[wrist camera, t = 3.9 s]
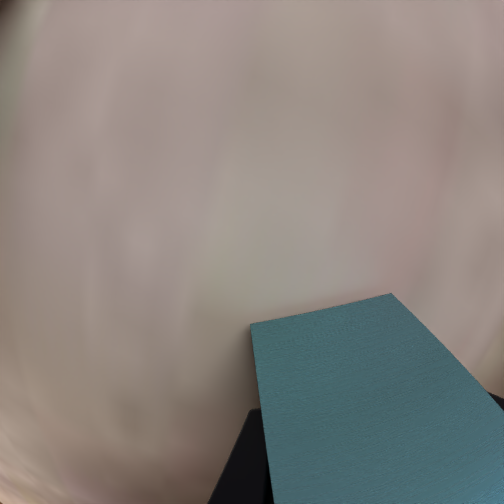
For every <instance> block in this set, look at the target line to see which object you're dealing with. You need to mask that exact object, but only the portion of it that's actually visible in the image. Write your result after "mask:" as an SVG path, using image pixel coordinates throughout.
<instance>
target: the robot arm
mask: <svg viewBox="0 0 504 504" xmlns="http://www.w3.org/2000/svg"><path fill="white" fill-rule="evenodd" d="M486 392H487V391H486ZM487 393H488V394H489V395H490V396H491V397H492V398H493V399H494V401H495V402H496V403H497V404H498V405H499V406H500V408H501V409H502V410H503V411H504V399H503V398H501V397H499V396H496V395H494V394H492V393H489V392H487ZM207 504H274V497H273V490H272V483H271V476H270V469H269V462H268V455H267V448H266V441H265V433H264V426H263V419H262V411H261V408H258V409H252V410H250V411H249V413H248V415H247V418H246V420H245V422H244V425H243V427H242V429H241V432H240V434H239V436H238V438H237V441H236V443H235V445H234V447H233V450H232V452H231V454H230V456H229V459H228V461H227V463H226V465H225V467H224V469H223V472H222V474H221V476H220V478H219V480H218V482H217V484H216V486H215V489H214V491H213V493H212V495H211V497H210V499H209V501H208V503H207Z"/></svg>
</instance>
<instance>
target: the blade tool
mask: <svg viewBox="0 0 504 504" xmlns="http://www.w3.org/2000/svg"><path fill="white" fill-rule="evenodd" d="M250 327H251V335H252V343H253V351H254V358H255V366H256V374H257V381H258V389H259V396H260V404H261V411H262V419H263V426H264V433H265V441H266V448H267V455H268V462H269V469H270V476H271V483H272V490H273V497H274V504H504V411H503V410H502V409H501V408H500V406H499V405H498V404H497V403H496V402H495V401H494V399H493V398H492V397H491V396H490V395H489V394H488V393H487V392H486V390H485V389H484V388H483V387H482V386H481V385H480V384H479V383H478V381H477V380H476V379H475V378H474V377H473V376H472V375H471V374H470V373H469V372H468V371H467V369H466V368H465V367H464V366H463V365H462V364H461V363H460V362H459V361H458V360H457V359H456V358H455V357H454V356H453V354H452V353H451V352H450V351H449V350H448V349H447V348H446V347H445V346H444V345H443V344H442V343H441V342H440V341H439V340H438V339H437V338H436V337H435V336H434V335H433V334H432V333H431V332H430V331H429V330H428V329H427V328H426V327H425V326H424V325H423V324H422V323H421V322H420V321H419V320H418V319H417V318H416V317H415V316H414V315H413V314H412V313H411V312H410V311H409V310H408V309H407V308H406V307H405V306H404V305H403V304H402V303H401V302H400V301H399V300H398V299H397V298H396V297H395V296H394V295H393V294H392V293H390V294H386V295H382V296H378V297H374V298H370V299H366V300H362V301H358V302H354V303H349V304H345V305H341V306H336V307H332V308H328V309H323V310H318V311H314V312H309V313H304V314H300V315H295V316H290V317H285V318H280V319H274V320H269V321H264V322H259V323H253V324H250Z"/></svg>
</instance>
